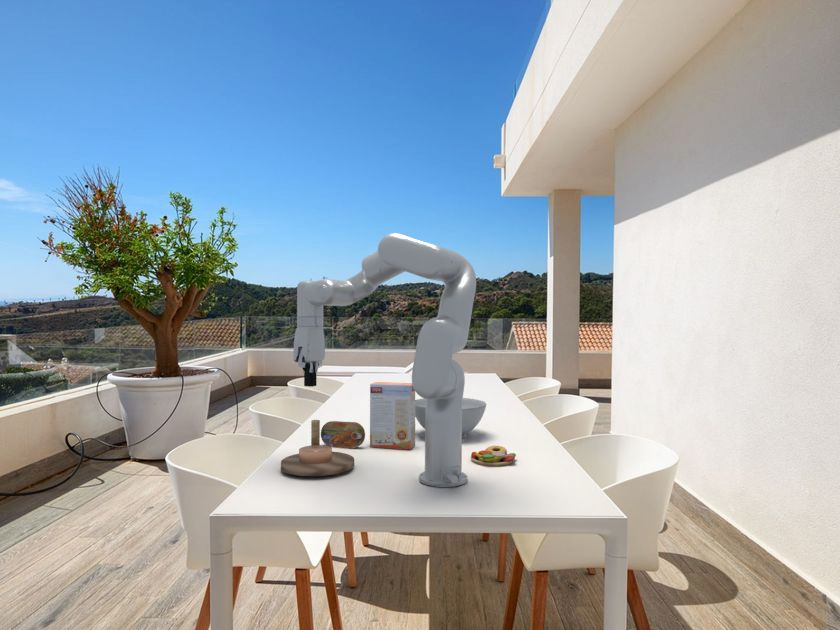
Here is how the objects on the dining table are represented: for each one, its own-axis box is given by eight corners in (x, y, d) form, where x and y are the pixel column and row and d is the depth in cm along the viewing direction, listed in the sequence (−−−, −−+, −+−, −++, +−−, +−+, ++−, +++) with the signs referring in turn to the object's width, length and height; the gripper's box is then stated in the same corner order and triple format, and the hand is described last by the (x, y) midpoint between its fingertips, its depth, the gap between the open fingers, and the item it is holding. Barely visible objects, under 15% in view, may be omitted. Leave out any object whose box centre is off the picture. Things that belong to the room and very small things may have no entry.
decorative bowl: (430, 426, 209) (430, 395, 209) (495, 432, 198) (496, 400, 198) (397, 439, 185) (397, 404, 185) (470, 448, 173) (470, 411, 174)
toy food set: (499, 454, 167) (499, 444, 167) (525, 464, 155) (525, 453, 155) (462, 459, 161) (462, 448, 161) (487, 470, 149) (487, 458, 149)
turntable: (323, 480, 135) (324, 436, 135) (264, 469, 144) (265, 428, 144) (368, 462, 152) (368, 423, 152) (313, 453, 162) (313, 416, 162)
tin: (320, 446, 175) (320, 420, 175) (324, 444, 178) (324, 418, 178) (362, 449, 171) (362, 423, 171) (366, 447, 174) (366, 421, 174)
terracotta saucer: (316, 465, 143) (316, 454, 143) (291, 461, 147) (292, 449, 147) (338, 458, 150) (338, 447, 150) (314, 454, 155) (314, 443, 155)
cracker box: (415, 446, 176) (416, 382, 176) (410, 450, 170) (411, 384, 170) (375, 443, 180) (375, 381, 180) (369, 447, 174) (369, 383, 174)
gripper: (313, 323, 165) (313, 382, 165) (284, 323, 151) (284, 388, 151) (334, 323, 162) (334, 383, 162) (306, 323, 148) (306, 389, 148)
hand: (310, 385), depth 156 cm, fingers closed
